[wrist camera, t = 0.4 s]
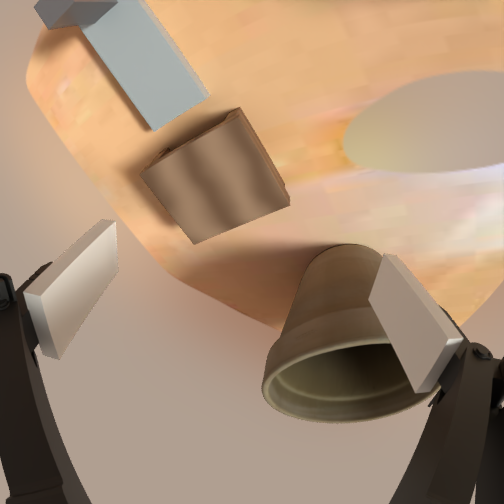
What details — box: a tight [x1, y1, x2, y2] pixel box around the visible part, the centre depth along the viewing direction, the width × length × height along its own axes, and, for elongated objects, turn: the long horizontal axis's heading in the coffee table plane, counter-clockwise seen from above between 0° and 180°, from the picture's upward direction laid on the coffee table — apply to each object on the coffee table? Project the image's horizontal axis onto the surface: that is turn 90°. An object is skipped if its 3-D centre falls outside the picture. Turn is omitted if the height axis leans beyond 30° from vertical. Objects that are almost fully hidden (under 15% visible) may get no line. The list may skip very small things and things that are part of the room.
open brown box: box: [140, 107, 290, 245], centre depth 38 cm, size 14×12×6 cm
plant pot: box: [262, 244, 441, 423], centre depth 43 cm, size 25×25×22 cm
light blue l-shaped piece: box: [34, 0, 210, 132], centre depth 26 cm, size 8×22×12 cm, turn 30°
